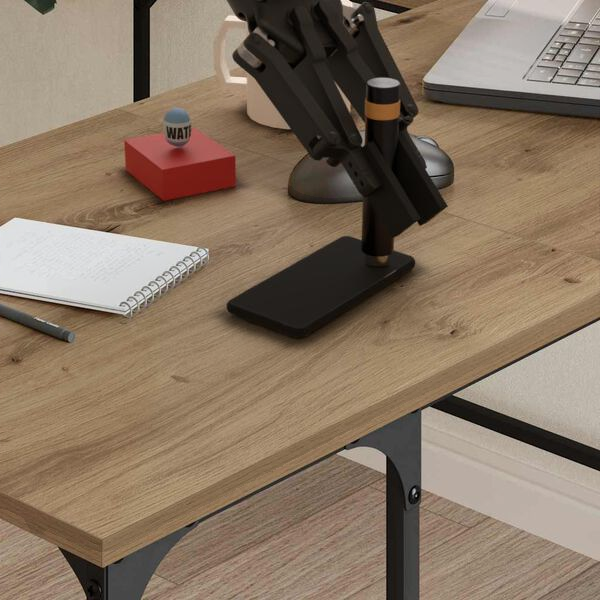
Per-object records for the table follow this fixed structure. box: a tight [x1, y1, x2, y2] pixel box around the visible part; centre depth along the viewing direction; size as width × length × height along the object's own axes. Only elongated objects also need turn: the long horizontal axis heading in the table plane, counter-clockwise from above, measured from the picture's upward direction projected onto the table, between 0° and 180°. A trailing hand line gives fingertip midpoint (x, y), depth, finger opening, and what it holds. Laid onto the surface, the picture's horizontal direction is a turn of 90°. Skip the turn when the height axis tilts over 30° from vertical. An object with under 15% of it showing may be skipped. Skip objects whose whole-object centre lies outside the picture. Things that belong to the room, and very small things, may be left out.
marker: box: [361, 78, 400, 267], centre depth 103 cm, size 2×2×14 cm
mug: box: [212, 0, 354, 130], centre depth 137 cm, size 14×10×11 cm
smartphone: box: [226, 235, 416, 339], centre depth 103 cm, size 7×1×15 cm
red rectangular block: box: [123, 107, 237, 202], centre depth 122 cm, size 8×7×6 cm
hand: (419, 221), depth 101 cm, fingers closed on marker, 2 cm apart
